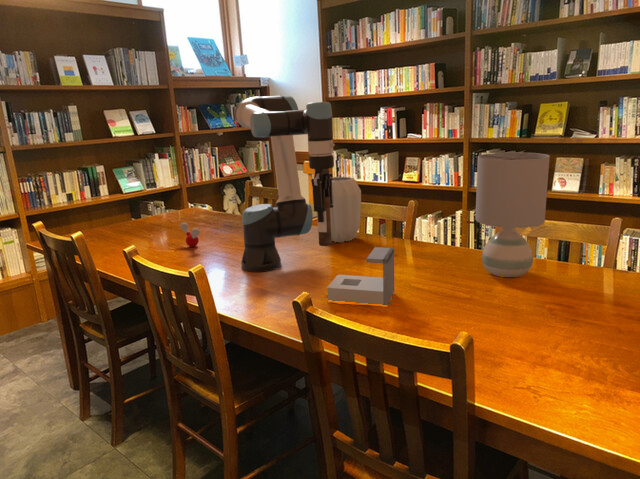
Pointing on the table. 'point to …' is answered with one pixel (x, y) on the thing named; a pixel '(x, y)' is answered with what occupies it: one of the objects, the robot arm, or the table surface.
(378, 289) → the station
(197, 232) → the molecular model
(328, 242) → the dowel
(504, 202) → the lamp
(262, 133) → the robot arm
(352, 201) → the vase
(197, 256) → the table surface
